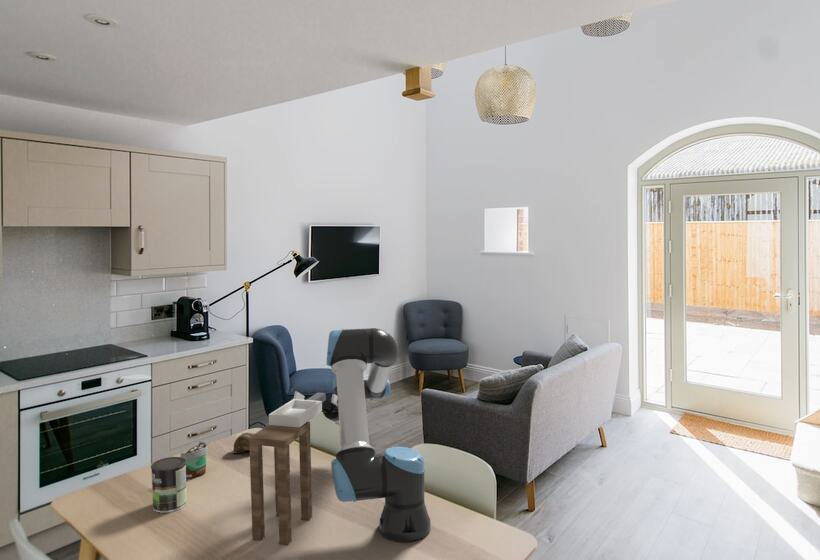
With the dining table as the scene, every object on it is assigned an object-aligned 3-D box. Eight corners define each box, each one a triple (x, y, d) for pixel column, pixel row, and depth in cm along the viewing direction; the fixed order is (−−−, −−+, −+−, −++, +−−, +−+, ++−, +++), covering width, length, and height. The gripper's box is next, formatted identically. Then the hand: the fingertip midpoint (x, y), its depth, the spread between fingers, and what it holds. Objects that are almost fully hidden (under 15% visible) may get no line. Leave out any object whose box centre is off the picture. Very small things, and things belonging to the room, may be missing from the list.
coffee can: (160, 516, 165) (158, 472, 164) (147, 505, 172) (145, 463, 171) (193, 504, 173) (191, 462, 172) (179, 494, 180) (177, 453, 179)
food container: (196, 482, 189) (195, 454, 188) (181, 481, 190) (179, 453, 189) (215, 467, 201) (215, 442, 200) (201, 466, 202) (200, 440, 202)
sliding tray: (308, 398, 185) (308, 389, 185) (335, 400, 183) (335, 391, 183) (268, 424, 159) (268, 414, 159) (299, 427, 157) (299, 417, 157)
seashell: (266, 448, 220) (265, 429, 219) (254, 457, 211) (253, 437, 210) (241, 446, 222) (240, 427, 222) (228, 455, 213) (228, 435, 213)
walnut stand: (279, 512, 167) (277, 418, 165) (312, 516, 165) (310, 421, 162) (252, 540, 152) (249, 437, 150) (287, 545, 149) (284, 440, 147)
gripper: (366, 423, 192) (347, 410, 173) (302, 418, 198) (277, 405, 179) (369, 403, 195) (350, 387, 176) (306, 398, 201) (282, 383, 183)
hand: (313, 396), depth 178 cm, fingers open, 13 cm apart
